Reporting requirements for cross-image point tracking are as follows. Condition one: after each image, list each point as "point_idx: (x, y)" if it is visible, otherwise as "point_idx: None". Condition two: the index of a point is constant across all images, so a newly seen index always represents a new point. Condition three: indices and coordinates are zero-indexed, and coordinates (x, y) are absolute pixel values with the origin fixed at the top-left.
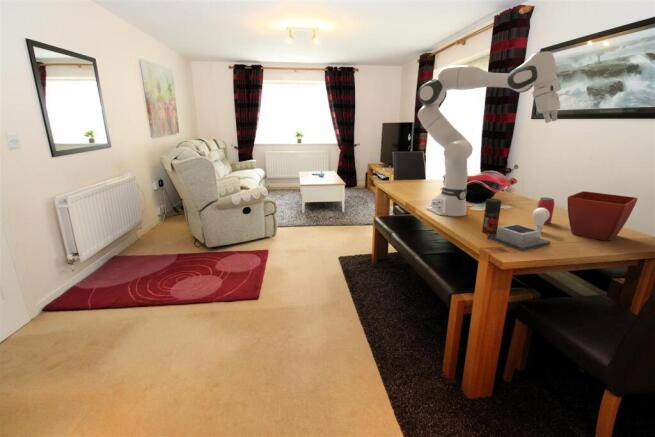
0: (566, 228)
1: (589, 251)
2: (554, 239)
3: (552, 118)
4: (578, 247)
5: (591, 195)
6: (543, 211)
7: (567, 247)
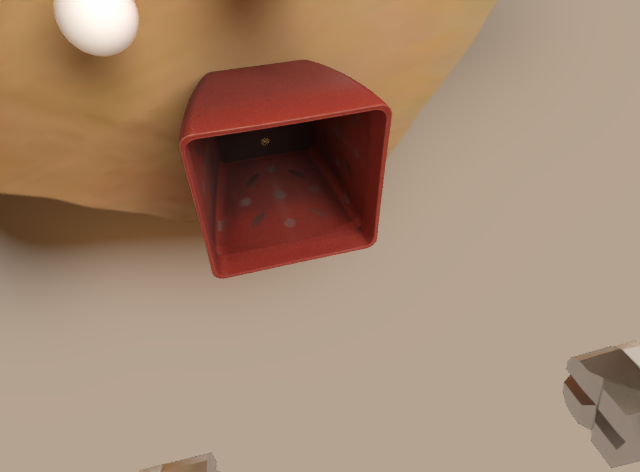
0: (262, 27)
1: (72, 181)
2: (68, 76)
3: (605, 408)
4: (73, 153)
5: (378, 129)
6: (77, 46)
7: (33, 139)
